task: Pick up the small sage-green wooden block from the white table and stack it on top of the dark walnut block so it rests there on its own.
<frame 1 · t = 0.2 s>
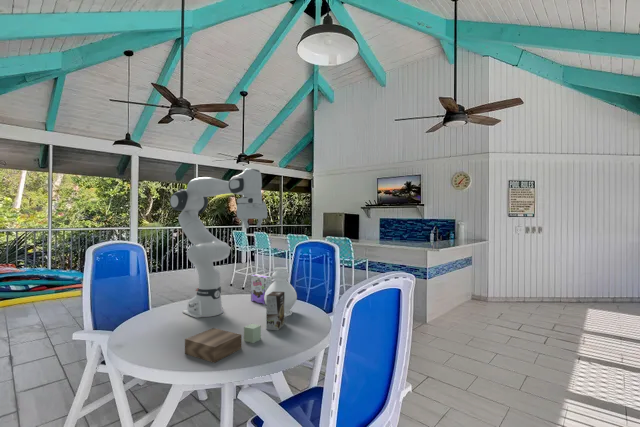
hand: (252, 227, 158), 48 cm above the table, tool pointing down, fingers open, 8 cm apart
walnut block: (213, 352, 124), on the table
coffee box: (275, 327, 151), on the table
decorative vase: (280, 314, 172), on the table
sage block: (252, 340, 135), on the table
candy box: (261, 302, 196), on the table
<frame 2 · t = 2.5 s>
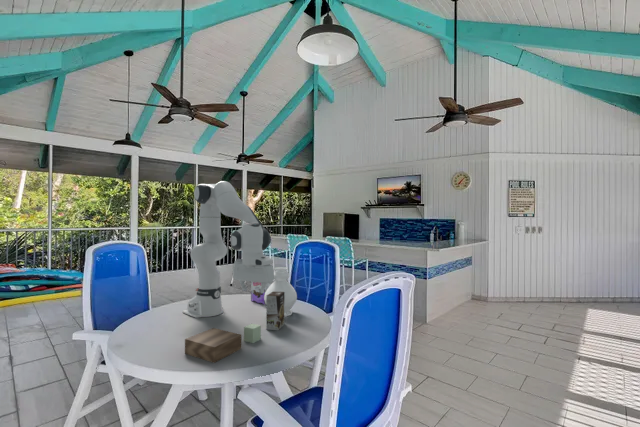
hand: (253, 291, 135), 21 cm above the table, tool pointing down, fingers open, 8 cm apart
nothing on the table moved.
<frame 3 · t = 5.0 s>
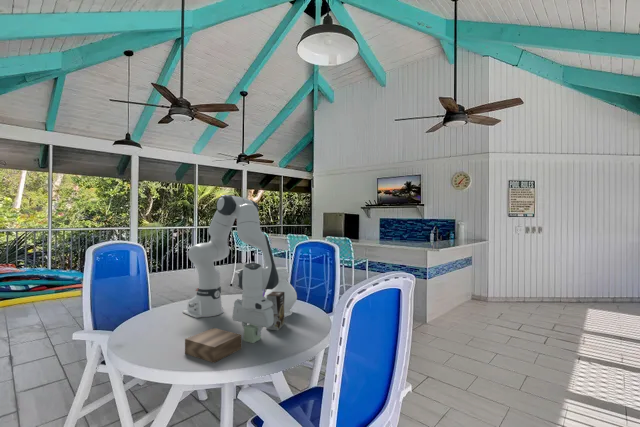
hand: (252, 333, 135), 3 cm above the table, tool pointing down, fingers closed on sage block, 5 cm apart
sage block: (252, 340, 135), on the table, touching gripper
everything else where it was.
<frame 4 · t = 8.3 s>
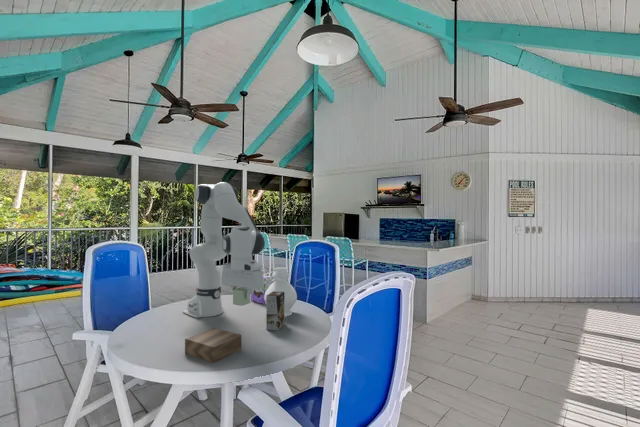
hand: (241, 297, 132), 19 cm above the table, tool pointing down, fingers closed on sage block, 5 cm apart
sage block: (241, 303, 132), point 17 cm above the table, touching gripper
everything else where it was.
when the fingers open (10 cm above the table, at t = 11.7 s): sage block drops 2 cm, resting on walnut block.
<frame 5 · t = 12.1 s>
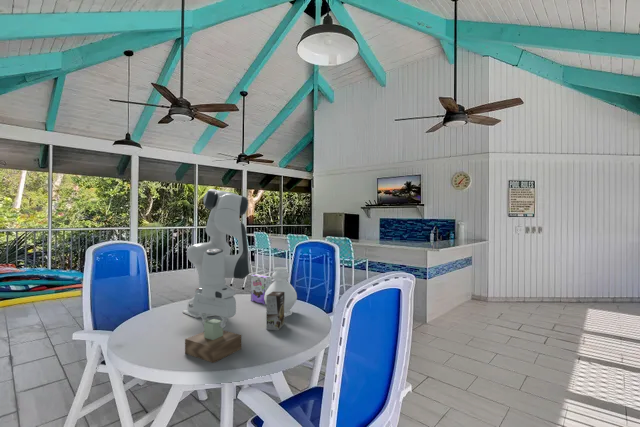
hand: (213, 325, 124), 10 cm above the table, tool pointing down, fingers open, 8 cm apart
walnut block: (213, 352, 124), on the table, touching sage block
sage block: (213, 336, 124), point 6 cm above the table, touching walnut block
everything else where it was.
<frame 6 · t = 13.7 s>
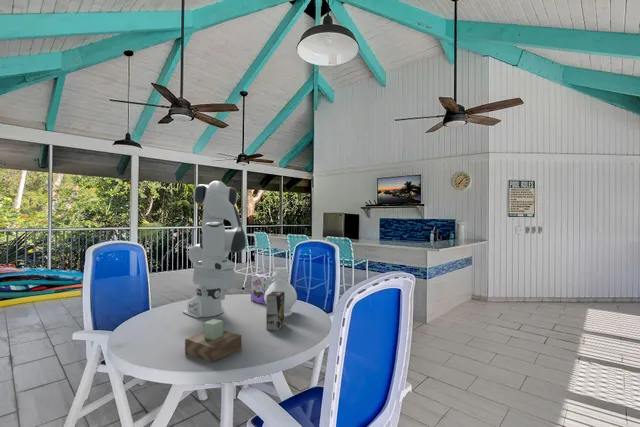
hand: (213, 297, 124), 21 cm above the table, tool pointing down, fingers open, 8 cm apart
walnut block: (213, 352, 124), on the table
sage block: (213, 336, 124), point 6 cm above the table
everything else where it was.
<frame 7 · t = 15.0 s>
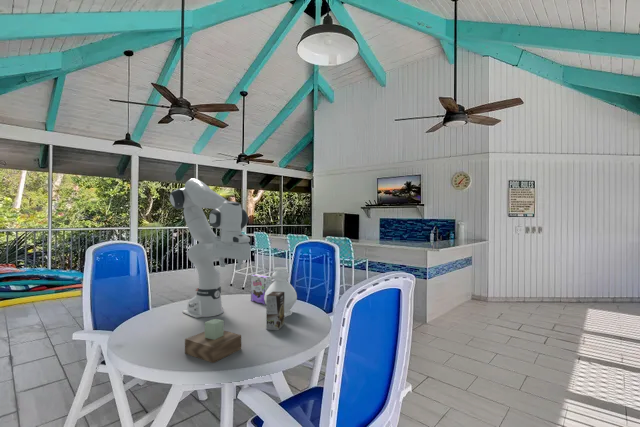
hand: (230, 268, 141), 30 cm above the table, tool pointing down, fingers open, 8 cm apart
walnut block: (213, 352, 124), on the table, touching sage block
sage block: (214, 336, 124), point 6 cm above the table, touching walnut block
everything else where it was.
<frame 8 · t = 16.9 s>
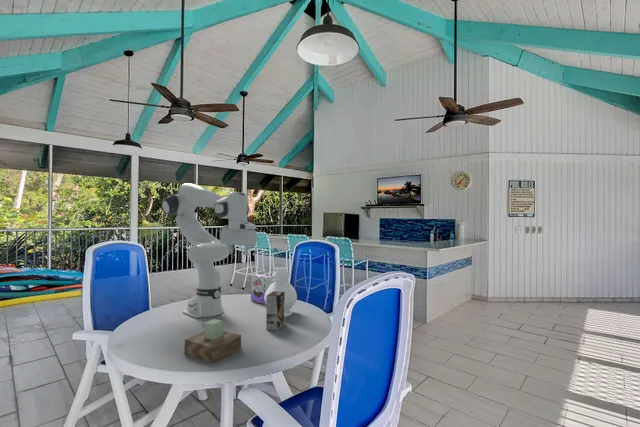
hand: (237, 254, 150), 35 cm above the table, tool pointing down, fingers open, 8 cm apart
walnut block: (213, 352, 124), on the table
sage block: (213, 337, 124), point 6 cm above the table
everything else where it was.
at the end: sage block inside the target area on the walnut block (0.1 cm from its centre), point 6.0 cm above the walnut block's base; sage block tilted 0°; sage block touching walnut block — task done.
